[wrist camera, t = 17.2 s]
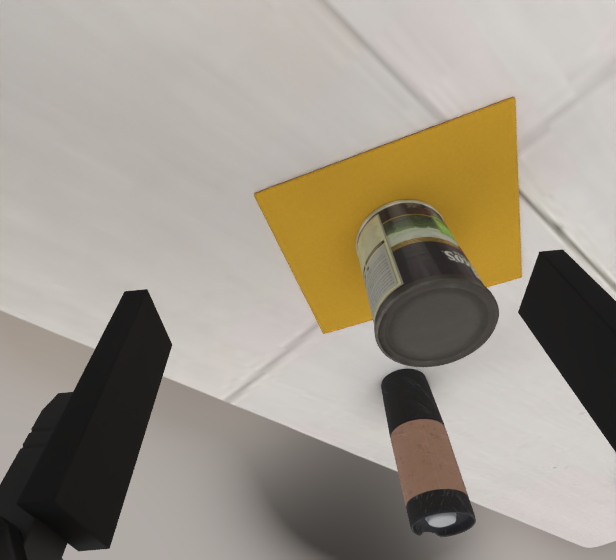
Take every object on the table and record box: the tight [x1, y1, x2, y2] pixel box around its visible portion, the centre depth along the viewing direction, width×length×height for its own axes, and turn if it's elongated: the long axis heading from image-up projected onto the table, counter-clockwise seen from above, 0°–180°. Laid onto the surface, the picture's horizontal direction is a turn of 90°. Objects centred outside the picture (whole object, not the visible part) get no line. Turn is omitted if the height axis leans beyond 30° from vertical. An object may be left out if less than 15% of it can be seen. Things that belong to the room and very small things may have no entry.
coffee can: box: [356, 199, 499, 367], centre depth 38 cm, size 10×10×14 cm
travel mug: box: [381, 369, 476, 537], centre depth 52 cm, size 8×8×20 cm
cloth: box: [254, 97, 522, 334], centre depth 44 cm, size 26×22×1 cm
